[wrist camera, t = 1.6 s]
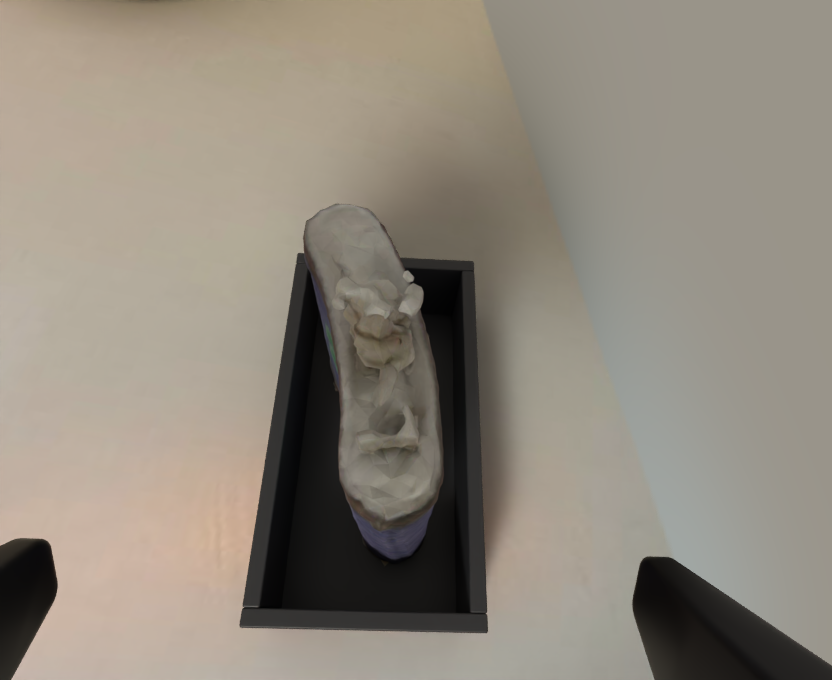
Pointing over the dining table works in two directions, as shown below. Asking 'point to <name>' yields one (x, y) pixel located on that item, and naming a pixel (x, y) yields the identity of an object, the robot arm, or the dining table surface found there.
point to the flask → (378, 379)
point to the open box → (325, 498)
